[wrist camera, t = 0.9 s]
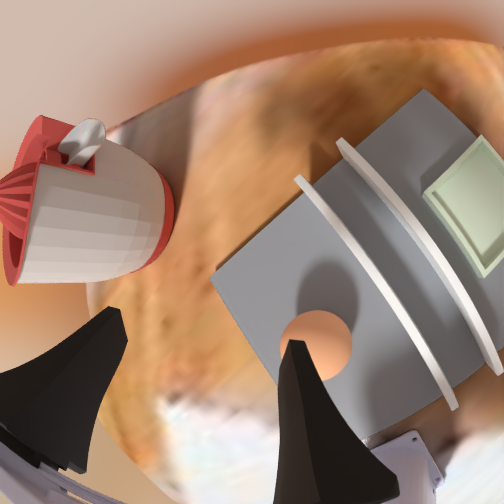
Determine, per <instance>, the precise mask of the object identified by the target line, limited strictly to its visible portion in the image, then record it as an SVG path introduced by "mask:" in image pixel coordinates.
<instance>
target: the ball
mask: <svg viewBox="0 0 504 504" xmlns="http://www.w3.org/2000/svg"><path fill="white" fill-rule="evenodd" d="M289 339H293V340H303V341H305V343H306V345H307V348H308V350H309V353H310V355H311V358H312V360H313V363H314V365H315V367H316V369H317V372H318V374H319V376H320V378H321V380H322V381H324V380H327V379H330V378H332V377H334V376H335V375H337V374H338V373H339V372H340V371H342V369H343V368H344V367H345V366H346V364H347V363H348V361H349V359H350V356H351V353H352V337H351V333H350V331H349V329H348V327H347V325H346V324H345V323H344V321H343V320H342V319H341V318H339V317H338V316H336V315H335V314H333V313H330V312H327V311H321V310H314V311H309V312H305V313H303V314H300V315H299V316H297V317H296V318H294V319H293V320H292V321H291V322H290V323H289V324H288V325H287V327H286V328H285V330H284V332H283V334H282V337H281V341H280V354H281V358H282V359H283V356H284V353H285V350H286V347H287V344H288V341H289Z"/></svg>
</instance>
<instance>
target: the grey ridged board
mask: <svg viewBox="0 0 504 504" xmlns="http://www.w3.org/2000/svg"><path fill="white" fill-rule="evenodd" d="M476 139H477V137H476V136H475V135H474V134H473V133H472V132H471V131H470V130H469V129H468V128H467V127H466V126H465V125H464V124H463V123H462V122H461V121H460V120H459V119H458V118H457V117H456V116H455V115H454V114H453V113H452V112H451V111H450V110H449V109H448V108H446V107H445V106H444V105H443V104H442V103H441V102H440V101H439V100H437V99H436V98H435V97H434V96H433V95H432V94H430V93H429V92H428V91H427V90H425V89H424V88H423V89H422V90H421V91H420V92H419V93H417V94H416V95H415V96H414V97H413V98H412V99H410V100H409V101H408V102H407V103H406V104H405V105H404V106H402V107H401V108H400V109H399V110H398V111H397V112H395V113H394V114H393V115H392V116H391V117H390V118H388V119H387V120H386V121H385V122H384V123H383V124H382V125H380V126H379V127H378V128H377V129H376V130H375V131H373V132H372V133H371V134H370V135H369V136H368V137H367V138H365V139H364V140H363V141H362V142H361V143H360V144H359V145H357V146H356V147H355V148H353V147H352V146H351V145H350V144H349V143H347V142H346V141H345V140H344V139H343V138H342V137H341V138H340V139H339V140H338V141H337V142H336V144H337V146H338V148H339V150H340V152H341V154H342V156H343V159H341V160H340V161H339V162H338V163H337V164H336V165H335V166H333V167H332V168H331V169H330V170H329V171H328V172H327V173H326V174H324V175H323V176H322V177H321V178H320V179H319V180H318V181H317V182H315V183H314V184H313V185H311V184H310V183H309V182H308V181H307V180H306V179H305V178H304V177H303V176H302V175H300V174H299V175H298V176H297V177H296V178H295V179H294V181H295V182H296V183H297V184H298V185H299V186H300V188H301V189H302V190H303V191H304V193H303V194H302V195H301V196H300V197H298V198H297V199H296V200H295V201H294V202H293V203H292V204H291V205H289V206H288V207H287V208H286V209H285V210H284V211H283V212H282V213H281V214H279V215H278V216H277V217H276V218H275V219H274V220H273V221H272V222H270V223H269V224H268V225H267V226H266V227H265V228H264V229H263V230H262V231H260V232H259V233H258V234H257V235H256V236H255V237H254V238H253V239H252V240H250V241H249V242H248V243H247V244H246V245H245V246H244V247H243V248H242V249H240V250H239V251H238V252H237V253H236V254H235V255H234V256H233V257H232V258H231V259H229V260H228V261H227V262H226V263H225V264H224V265H223V266H222V267H221V268H219V269H218V270H217V271H216V272H215V273H214V274H213V275H212V276H211V277H210V280H211V282H212V283H213V285H214V287H215V289H216V290H217V292H218V294H219V295H220V297H221V299H222V300H223V302H224V304H225V305H226V307H227V308H228V310H229V312H230V313H231V315H232V317H233V318H234V320H235V321H236V323H237V325H238V326H239V328H240V330H241V331H242V333H243V334H244V336H245V337H246V339H247V341H248V342H249V344H250V345H251V347H252V348H253V350H254V352H255V353H256V355H257V356H258V358H259V359H260V361H261V362H262V364H263V365H264V367H265V368H266V370H267V371H268V373H269V374H270V376H271V377H272V379H273V380H274V382H275V383H276V385H277V386H278V377H279V367H280V364H281V362H282V358H281V354H280V341H281V337H282V334H283V332H284V330H285V328H286V327H287V325H288V324H289V323H290V322H291V321H292V320H293V319H294V318H296V317H297V316H299V315H300V314H303V313H305V312H309V311H314V310H321V311H327V312H330V313H333V314H335V315H336V316H338V317H339V318H341V319H342V320H343V321H344V323H345V324H346V325H347V327H348V329H349V331H350V333H351V337H352V353H351V356H350V359H349V361H348V363H347V364H346V366H345V367H344V368H343V369H342V371H340V372H339V373H338V374H337V375H335V376H334V377H332V378H330V379H327V380H324V381H322V382H323V384H324V386H325V388H326V390H327V392H328V393H329V395H330V397H331V399H332V400H333V402H334V404H335V406H336V407H337V409H338V410H339V412H340V414H341V415H342V416H343V418H344V419H345V421H346V422H347V424H348V425H349V426H350V428H351V429H352V430H353V432H354V433H355V434H356V435H357V437H358V438H359V439H360V440H363V439H365V438H367V437H369V436H372V435H374V434H376V433H378V432H380V431H382V430H384V429H386V428H388V427H390V426H392V425H394V424H396V423H398V422H400V421H402V420H404V419H405V418H407V417H409V416H411V415H413V414H414V413H416V412H418V411H419V410H421V409H423V408H424V407H426V406H428V405H429V404H431V403H432V402H434V401H436V400H437V399H439V398H440V397H442V396H443V395H444V397H445V399H446V400H447V402H448V404H449V406H450V408H451V410H452V411H453V410H455V409H456V408H458V407H459V405H458V402H457V400H456V397H455V395H454V392H453V390H452V389H453V388H455V387H456V386H457V385H459V384H460V383H461V382H463V381H464V380H465V379H467V378H468V377H469V376H471V375H472V374H473V373H474V372H476V371H477V370H478V369H479V368H481V367H482V366H483V365H484V364H485V363H487V364H488V366H489V367H490V368H491V369H492V370H493V371H494V373H495V374H496V375H497V376H499V375H500V374H502V373H503V372H504V369H503V366H502V364H501V361H500V359H499V356H498V354H497V353H498V352H499V351H500V350H501V349H502V348H503V347H504V258H503V259H502V260H501V261H500V262H499V263H498V264H497V265H496V266H495V268H494V269H493V270H492V271H491V272H490V273H489V274H488V275H487V276H486V277H485V278H479V277H478V276H477V275H476V273H475V271H474V270H473V268H472V266H471V265H470V263H469V261H468V260H467V258H466V257H465V255H464V254H463V252H462V251H461V249H460V247H459V246H458V245H457V243H456V242H455V240H454V239H453V237H452V236H451V234H450V233H449V232H448V230H447V229H446V227H445V226H444V225H443V223H442V222H441V221H440V219H439V218H438V217H437V215H436V214H435V213H434V212H433V210H432V209H431V208H430V206H429V205H428V204H427V203H426V201H425V200H424V199H423V198H422V195H423V193H424V191H425V190H426V189H428V188H429V187H430V186H431V185H432V184H433V183H434V182H435V181H436V180H437V179H438V178H439V177H440V176H441V175H442V174H443V173H444V172H445V171H446V170H447V169H448V168H449V167H450V166H451V165H452V164H453V163H454V162H455V161H456V160H457V159H458V158H459V157H460V156H461V155H462V154H463V153H464V152H465V151H466V150H467V149H468V148H469V147H470V146H471V145H472V144H473V143H474V142H475V141H476Z"/></svg>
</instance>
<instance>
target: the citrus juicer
mask: <svg viewBox="0 0 504 504" xmlns="http://www.w3.org/2000/svg"><path fill="white" fill-rule="evenodd" d="M173 219H174V200H173V194H172V191H171V188H170V186H169V184H168V182H167V181H166V180H165V178H164V177H163V176H162V175H161V174H160V173H159V172H158V171H157V170H156V169H155V168H154V166H152V165H150V164H149V163H147V162H146V161H145V160H144V159H143V158H142V157H140V156H139V155H137V154H135V153H134V152H132V151H131V150H129V149H127V148H125V147H123V146H121V145H119V144H116V143H114V142H112V141H109V140H107V139H106V130H105V126H104V124H103V123H102V122H101V121H100V120H98V119H92V118H89V119H85V120H83V121H82V122H80V123H79V124H78V125H77V126H73V125H70V124H67V123H64V122H61V121H58V120H54V119H51V118H48V117H45V116H43V115H40V116H38V117H37V118H36V119H35V120H34V121H33V123H32V124H31V126H30V128H29V129H28V132H27V133H26V135H25V138H24V140H23V142H22V144H21V147H20V150H19V152H18V155H17V158H16V161H15V164H14V168H13V171H12V172H10V173H9V174H8V175H6V176H5V177H4V178H2V179H1V180H0V221H1V222H2V224H3V261H4V269H5V274H6V278H7V281H8V283H9V285H11V286H15V285H16V283H73V282H95V281H104V280H108V279H112V278H117V277H120V276H122V275H125V274H127V273H133V272H135V271H138V270H140V269H142V268H144V267H145V266H147V265H149V264H150V263H152V262H153V261H154V260H156V259H157V258H158V256H159V255H160V254H161V253H162V251H163V249H164V248H165V246H166V244H167V242H168V239H169V237H170V234H171V230H172V226H173Z"/></svg>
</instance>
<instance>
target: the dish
mask: <svg viewBox="0 0 504 504" xmlns="http://www.w3.org/2000/svg"><path fill="white" fill-rule="evenodd" d="M422 198H423V199H424V200H425V201H426V203H427V204H428V205H429V206H430V208H431V209H432V210H433V212H434V213H435V214H436V215H437V217H438V218H439V219H440V221H441V222H442V223H443V225H444V226H445V227H446V229H447V230H448V232H449V233H450V234H451V236H452V237H453V239H454V240H455V242H456V243H457V245H458V246H459V247H460V249H461V251H462V252H463V254H464V255H465V257H466V258H467V260H468V261H469V263H470V265H471V266H472V268H473V270H474V271H475V273H476V275H477V276H478V277H479V278H485V277H486V276H487V275H488V274H489V273H490V272H491V271H492V270H493V269H494V268H495V266H496V265H497V264H498V263H499V262H500V261H501V260H502V259H503V258H504V161H503V159H502V158H501V157H500V156H499V154H498V153H497V152H496V151H495V149H494V148H493V147H492V146H491V145H490V144H489V142H488V141H487V140H486V139H485V138H484V137H483V136H482V135H480V136H479V137H478V138H477V139H476V141H475V142H474V143H473V144H472V145H471V146H470V147H469V148H468V149H467V150H466V151H465V152H464V153H463V154H462V155H461V156H460V157H459V158H458V159H457V160H456V161H455V162H454V163H453V164H452V165H451V166H450V167H449V168H448V169H447V170H446V171H445V172H444V173H443V174H442V175H441V176H440V177H439V178H438V179H437V180H436V181H435V182H434V183H433V184H432V185H431V186H430V187H429V188H428V189H426V190H425V191H424V193H423V195H422Z"/></svg>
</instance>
